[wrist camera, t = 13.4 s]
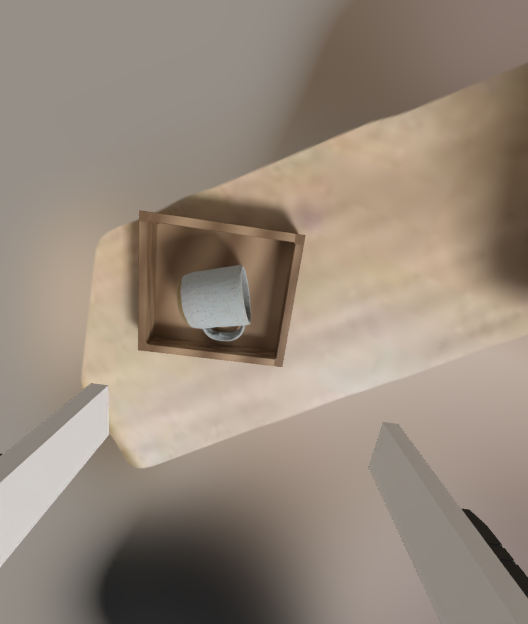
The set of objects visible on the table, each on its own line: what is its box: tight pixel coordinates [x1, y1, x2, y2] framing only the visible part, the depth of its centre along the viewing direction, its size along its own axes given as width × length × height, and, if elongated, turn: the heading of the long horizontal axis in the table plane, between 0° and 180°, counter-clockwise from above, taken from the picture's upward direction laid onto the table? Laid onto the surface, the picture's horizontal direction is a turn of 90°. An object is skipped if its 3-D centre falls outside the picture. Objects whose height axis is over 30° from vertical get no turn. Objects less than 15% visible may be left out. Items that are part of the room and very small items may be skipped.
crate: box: [138, 211, 305, 367], centre depth 34 cm, size 20×18×4 cm
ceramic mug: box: [177, 265, 251, 341], centre depth 32 cm, size 11×8×8 cm
